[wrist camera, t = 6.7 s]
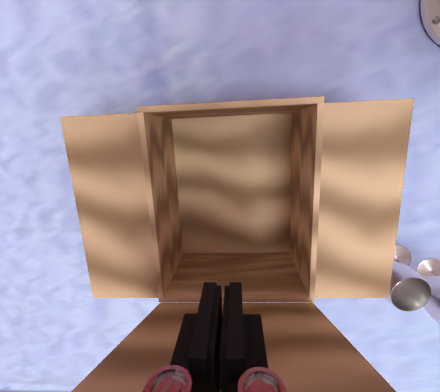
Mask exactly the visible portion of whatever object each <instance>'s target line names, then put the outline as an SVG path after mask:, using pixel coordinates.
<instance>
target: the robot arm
mask: <svg viewBox="0 0 440 392" xmlns="http://www.w3.org/2000/svg"><path fill="white" fill-rule="evenodd" d="M420 7H421V17H422V21H423V25H424V27H425V29H426V31H427V33H428V35H429V36H430V37H431V38H432V40H433V41H434V42H436V43H437V44H438V45H440V0H421V4H420ZM142 392H287V390H286V387H285V384H284V382H283V381H282V379H281V378H280V377H279V375H278V374H277V373H275V372H274V371H272V370H270V369H268V363H267V355H266V348H265V341H264V334H263V327H262V319H261V314H243V306H242V282H230V283H229V286H225V289H224V302H223V316H222V293H221V285H217V283H216V282H204V285H203V289H202V294H201V298H200V303H199V308H198V312H197V313H185V314H184V317H183V321H182V324H181V328H180V331H179V335H178V338H177V342H176V345H175V349H174V352H173V355H172V359H171V362H170V365H169V366H165V367H162V368H161V369H159V370H157V371H156V372H155V373H154V374H152V375H151V377H150V378H149V380H148V381H147V383H146V385H145V387H144V389H143V391H142Z"/></svg>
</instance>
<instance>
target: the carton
mask: <svg viewBox="0 0 440 392" xmlns="http://www.w3.org/2000/svg"><path fill="white" fill-rule="evenodd" d="M324 98H325V96H319V97H301V98H283V99H264V100H246V101H228V102H209V103H191V104H173V105H154V106H137V113H125V114H106V115H87V116H68V117H60V118H61V124H62V129H63V135H64V140H65V146H66V151H67V157H68V162H69V168H70V173H71V179H72V184H73V189H74V195H75V200H76V206H77V211H78V217H79V222H80V228H81V233H82V239H83V244H84V250H85V255H86V261H87V266H88V272H89V277H90V282H91V288H92V293H93V298H159V302H200V298H201V294H202V289H203V285H204V282H216V283H217V285H221V293H222V302H224V289H225V286H229V283H230V282H242V302H315V298H389V292H390V284H391V276H392V268H393V260H394V252H395V244H396V236H397V228H398V221H399V213H400V205H401V197H402V189H403V181H404V173H405V165H406V157H407V149H408V141H409V134H410V126H411V118H412V110H413V102H414V98H410V99H391V100H372V101H353V102H334V103H324Z"/></svg>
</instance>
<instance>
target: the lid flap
mask: <svg viewBox="0 0 440 392" xmlns="http://www.w3.org/2000/svg"><path fill="white" fill-rule="evenodd" d="M242 306H243V314H261V319H262V327H263V334H264V341H265V348H266V355H267V363H268V369H270V370H272V371H274V372H275V373H277V374H278V375H279V377H280V378H281V379H282V381H283V382H284V384H285V387H286V390H287V392H396V391H395V390H394V389H393V388H392V387H391V386H390V385H389V384H388V383H387V382H386V380H385V379H384V378H383V377H382V376H381V375H380V374H379V373H378V372H377V371H376V370H375V369H374V368H373V367H372V366H371V364H370V363H369V362H368V361H367V360H366V359H365V358H364V357H363V356H362V355H361V354H360V353H359V352H358V351H357V350H356V348H355V347H354V346H353V345H352V344H351V343H350V342H349V341H348V340H347V339H346V338H345V337H344V336H343V335H342V333H341V332H340V331H339V330H338V329H337V328H336V327H335V326H334V325H333V324H332V323H331V322H330V321H329V320H328V319H327V317H326V316H325V315H324V314H323V313H322V312H321V311H320V310H319V309H318V308H317V307H316V306H315V305H314V304H313V303H242ZM198 308H199V303H160V304H159V305H158V306H157V307H156V308H155V309H154V310H153V311H152V312H151V313H150V314H149V315H148V316H147V317H146V318H145V319H144V320H143V321H142V322H141V323H140V324H139V325H138V326H137V327H136V328H135V329H134V330H133V331H132V332H131V333H130V334H129V335H128V336H127V337H126V338H125V339H124V340H123V341H122V342H121V343H120V344H119V345H118V346H117V347H116V348H115V349H114V350H113V351H112V352H111V353H110V354H109V355H108V356H107V357H106V358H105V359H104V360H103V361H102V362H101V363H100V364H99V365H98V366H97V367H96V368H95V369H94V370H93V371H92V372H91V373H90V374H89V375H88V376H87V377H86V378H85V379H84V380H83V381H82V382H81V383H80V384H79V385H78V386H77V387H76V388H75V389H74V390H73V391H72V392H142V391H143V389H144V387H145V385H146V383H147V381H148V380H149V378H150V377H151V375H152V374H154V373H155V372H156V371H157V370H159V369H161V368H162V367H165V366H169V365H170V362H171V359H172V355H173V352H174V349H175V345H176V342H177V338H178V335H179V331H180V328H181V324H182V321H183V317H184V314H185V313H197V312H198ZM222 316H223V303H222Z"/></svg>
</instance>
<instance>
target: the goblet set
mask: <svg viewBox="0 0 440 392" xmlns="http://www.w3.org/2000/svg"><path fill="white" fill-rule="evenodd" d="M410 260H411V254H410V252H409V250H408V249H407V248H405V247H404V246H400V245H395V252H394V260H393V268H392V276H391V284H390V292H389V298H385V299H386V300H387V301H389V302H390V303H391V304H392V305H394V306H395V307H396V308H398V309H400V310H403V311H415V310H418V309H420V308H422V307H424V308H425V309H426V311H427V312H428V313H429V314H430V316H431V317H432V318H433V319H435V320H436V321H437V322H438V323H439V324H440V261H439V260H437V259H426V260H424V261H422V262H421V263H420V264H419V265H418V267H417V269H416V271H415V270H414V269H412V268H411V267H409V266H408V265H409V263H410Z"/></svg>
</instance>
